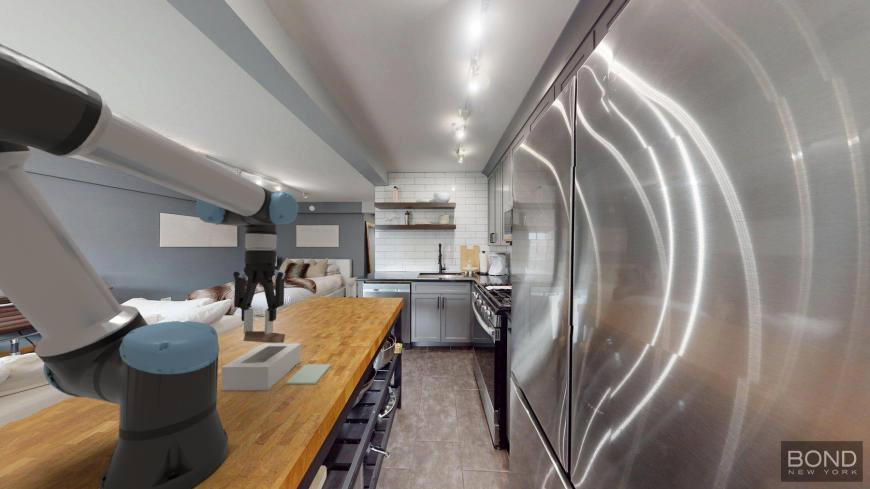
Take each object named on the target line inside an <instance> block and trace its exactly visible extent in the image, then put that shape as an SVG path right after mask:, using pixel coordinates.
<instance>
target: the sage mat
mask: <svg viewBox="0 0 870 489" xmlns="http://www.w3.org/2000/svg"><path fill="white" fill-rule="evenodd" d="M330 366H331V367H332V364H331V363H329V364H328V363H326V364H323V363H321V364H317V363H311V364H310V363H309V364H308V363H306V364H304V365H303V366H302V367H301V368H300V369H299V370H298V371H296V373H294V374H293V375H292V376H291V377H290V378H289V379H288V380H287V381H286V382H285V385H286V386H287V385H288V386H289V385H292V386H293V385H300V386H301V385H303V386H304V385H306V386H307V385H317V383H318V382H320V380H321V379H322V378H323V376H324V375H325V374H326V373H327V371H328V370H330V368H331V367H330Z"/></svg>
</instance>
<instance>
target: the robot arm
mask: <svg viewBox="0 0 870 489" xmlns="http://www.w3.org/2000/svg"><path fill="white" fill-rule="evenodd" d="M30 148H33V149H35V150H39V151H42V152H45V153H47V154H51V155H53V156H57V157H60V158H67V157H72V156H80V157H82V158H85V159H88V160H91V161H93V162H96V163H99V164H101V165H105V166H108V167H110V168H113V169H115V170H118V171H121V172H123V173H126V174H129V175H131V176H134V177H137V178H140V179H141V180H142V179H143V180H145V181H148V182H151V183H153V184H157V185H158V186H161V187H164V188H167V189H170V190H172V191H176V192H178V193H181V194H183V195H186V196H189V197H191V198H194V199H197V200H196V203H195V205H196V206H195V211H196V215H197V217H198V218H199V219H200V220H201V221H202V222H204V223H208V224H214V225H216V226H219V225H223V226H232V227H233V226H234V227H241V228H245V239H244V240H245V241H244V248H246V249H247V250H245V251H244V264H245V267H244V268H243V270H239V271H234V272H233V277H234V296H233V297H234V298H233V299H234V300H233V306H234V308H238V309H240V310H241V314H240V315H241V317H240V318H241V321H242V322H243V335H245V332H246V331H254V326H253V325H254V308H252V307H253V305H252V303H253V299H254V296H255V293H256V289H257V287H258V285H259V284H261V286H262V287H263V291H264V296H265V300H266V305H267V308H266V310H264V331H265V334H269V333H271V332H272V333H274V321H276V319H277V309H278V308H281V307H283V306H284V305H285V279H286V277H287V272H286V271H281V270H278V268H277V267H276V263H277V251H276V250H275V249H277V241H278V240H277V239H278V238H277V237H278V233H277V232H278V226H281V225H287V224H291V223H293V221H295V220H296V219H297V216H298V214H299V213H298V212H299V205H298V201H297V199H296V198H295V197H294V195H292V194H291V193H289V192H287V191H279V190H276V191H272V190H269V189H267V188H265V187H263V186H261V185H259V184H258V183H255V182H253V181H251V180H250V179H247V178H245V177H243V176H242V175H239V174H238V173H236V172H234V171H232V170H230V169H228V168H227V167H225V166H223V165H220V164H219V163H216V162H215V161H213V160H211V159H209V158H207V157H205V156H203V155H201V154H199V153H197V152H195V151H194V150H191V149H190V148H188V147H186V146H184V145H183V144H180V143H178V142H176V141H174V140H173V139H170V138H169V137H167V136H164V135H163V134H161V133H159V132H157V131H155V130H153V129H151V128H149V127H147V126H146V125H143V124H142V123H140V122H138V121H136V120H134V119H132V118H130V117H128V116H126V115H125V114H122V113H120V112H118V111H116V110H115V109H113V108H111V107H110V106H108V103H107V102H106V100H105V98H104V97H103V96H102V95H101V94H100V93H99V92H97V91H94V90H93V89H91V88H89V87H87V86H85V85H83V83H82V84H81V83H80V82H79V81H77V80H74V79H72V77H69V76H67V75H66V74H64V73H61V72H59V71H58V70H55V69H54V68H53V67H52V68H51V67H49V66H48V65H46V64H44V63H42V62H40V61H37V60H36V59H34V58H32V57H29V56H28V55H25V54H23V53H21V52H18V51H17V50H15V49H13V48H10V47H8V46H6V45H4V44H2V43H0V291H1V292H2V294H3V295H4V296H5V297H6V298H7V299H8V300H9V301H10V302H11V303H12V305H13V306H14V307H15V308H16V309H17V310H18V311H19V312H20V313H21V314H22V316H23V317H24V318H25V319H26V320H27V321H28V323H30V324H31V325H32V327H33V328H34V329H35V330H36V331H37V333H39V334H40V336H41V338H40V340H39V342H38V343H37V344H36V346H35V347H34V353H35V355H36V356H37V357H38V358H39V359H40V360H41V361H42V362H43V374H44V377H45V379H46V381H47V382H48V384H50V385H51V386H52V387H53V388H54V389H56V390H58V391H59V392H61V393H63V394H64V395H68V396H71V397H72V396H73V397H76V398H78V397H79V398H87V399H90V400H91V399H92V400H97V401H103V402H107V403H112V404H116V405H118V406H119V418H118V423H119V424H118V439H117V442H116V445H115V448H114V449H113V452H112V455H110V459H109V461H108V465H107V468H106V470H105V471H104V473H103V475H102V477H101V479H100V482H99V485H98V489H193V488H194V487H196V486H197V485H198V484H200V483H201V482H203V481H204V480H206V479H207V478H208V477H209V476H210V475H212V474H213V473H214V472H215V471H216V470H217V469H218V468H219V467H220V465H222V463H224V460H225V458H227V454H228V450H229V449H228V447H229V446H228V445H229V444H228V443H229V442H228V441H229V440H228V439H229V438H228V433H227V432H226V430H225V429H224V427H223V424H222V422H221V418H220V415H219V413H218V410H217V409H218V408H217V402H218V401H217V398H218V397H217V396H218V377H219V375H218V373H219V355H220V354H219V352H220V345H219V338H218V332H217V330H216V329H215V328H214V327H213V326H212V325H210V324H208V323H204V322H199V321H192V320H190V321H189V320H187V321H186V320H185V321H178V320H173V321H164V322H156V323H152V324H148V322H147V321H146V320H145V318H144V317H143V315H142V314H141V313H140V311H139V309H138V308H137V307H136V306H131V305H124V304H119V302H118V300H117V299H116V298H115V296H114V295H113V294H112V292H111V291H110V289H109V288H108V287H107V285H106V284H105V282H104V281H103V279H102V278H101V276H100V275H99V273H98V272H97V271H96V269H95V268H94V267H93V265H92V264H91V262H90V261H89V259H88V258H87V257H86V255H85V254H84V253H83V251H82V250H81V248H80V247H79V245H78V244H77V242H76V241H75V240H74V238H73V237H72V235H71V234H70V232H69V231H68V229H67V228H66V227H65V225H64V224H63V223H62V221H61V220H60V218H59V217H58V215H57V214H56V212H55V211H54V209H53V208H52V207H51V205H50V204H49V203H48V201H47V200H46V199H45V197H44V195H43V194H42V192H41V191H40V190H39V188H38V187H37V186H36V184H35V183H34V181H33V180H32V178H31V177H30V175H29V174H28V173H27V171H26V170H25V168H24V165H25V163H27V161H28V159H29V158H30V157H31V155H32V151H31V150H30ZM246 277H247V281H246ZM273 277H274V278H275V281H273ZM274 282H275V283H274ZM273 285H275V286H273Z"/></svg>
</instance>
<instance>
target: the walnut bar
mask: <svg viewBox="0 0 870 489" xmlns="http://www.w3.org/2000/svg"><path fill="white" fill-rule="evenodd" d="M285 337H286V334H284V333H280V332H279V333H278V332H271V333H269V334H265V330H263V331H262V330H261V331H259V330H256V331H254V330H253V331H246V332H245V334H244V337H243V342H253V343H264V344H285Z"/></svg>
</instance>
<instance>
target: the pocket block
mask: <svg viewBox="0 0 870 489" xmlns="http://www.w3.org/2000/svg"><path fill="white" fill-rule="evenodd" d="M301 344H302V343H261V344H260V345H258V346H256V347H254V348H253V349H251V350H249V351H247V352H246V353H244V354H242V355H240V356H239V357H237V358H235V359H233V360H231V361H230V362H228V363H226V364H224V365H222V366H221V377H220V378H221V379H220V380H221V381H220V391H269V390H271V388H273V386H275V385H276V384H277V383H278V382H280V380H282V379H283V378H284V377H285V376H286V375H287V374H288V373H290V372H291V371H292V370H293V369H294V368H295V367H296V366H297V365H296V364H298V363H299V362H300V363H301V352H302V351H301V350H302V349H301V346H302V345H301ZM300 363H299V364H300ZM299 364H298V365H299ZM295 365H296V366H295ZM294 366H295V367H294ZM293 367H294V368H293ZM292 368H293V369H292ZM291 369H292V370H291ZM290 370H291V371H290ZM289 371H290V372H289Z"/></svg>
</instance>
